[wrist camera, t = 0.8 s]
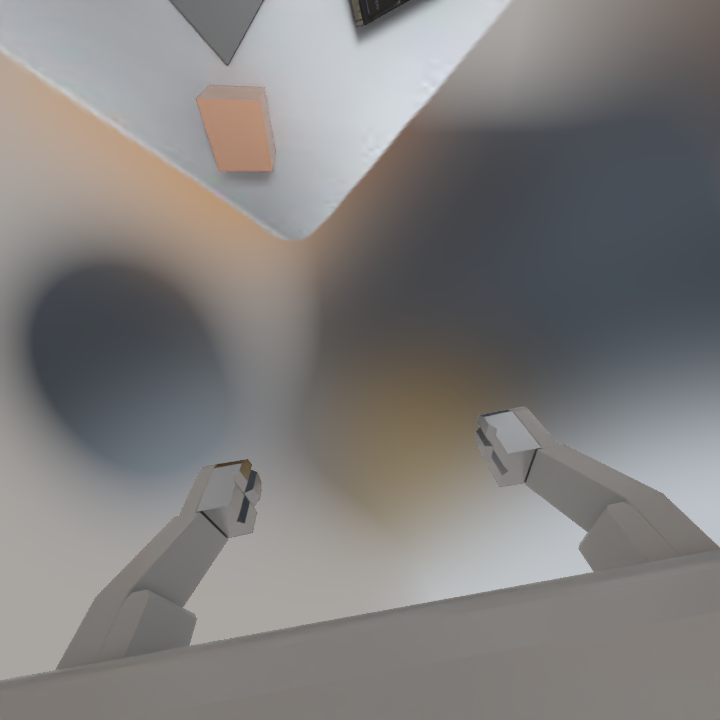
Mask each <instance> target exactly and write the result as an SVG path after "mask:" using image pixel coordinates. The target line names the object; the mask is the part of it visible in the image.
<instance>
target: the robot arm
mask: <svg viewBox="0 0 720 720" xmlns="http://www.w3.org/2000/svg"><path fill="white" fill-rule="evenodd" d="M477 423H478V425H479V426H480V427H479V429H478V430H477V431H476V442H477V446H478V448H479V451H480V453H481V455H482V457H483V458H485V459H486V460H488V461H489V462H490V468H489V469H490V471H491V473H492V474H493V477H494V478H495V480H496V482H497V484H498V485H499V487H503V486H510V485H517V484H523V483H526V485H527V486H528V487H529V488H530V489H532V490H533V491H534V492H536V493H537V494H538V495H540V496H541V497H543V498H544V499H545V500H547V501H548V502H549V503H550V504H551V505H553V506H554V507H556V508H557V509H558V510H559V511H561V512H562V513H563V514H565V515H566V516H567V517H569V518H570V519H571V520H572V521H574V522H575V523H576V524H578V525H579V526H580V527H582V528H583V529H584V530H586V531H587V532H588V533H587V534H586V536H585V537H584V539H583V540H582V541H581V543H580V545H579V550H580V552H581V553H582V555H583V556H584V558H585V559H586V561H587V562H588V564H589V565H590V567H591V568H592V570H593V571H594V572H593V573H586V574H581V575H575V576H570V577H565V578H559V579H554V580H548V581H542V582H537V583H531V584H526V585H520V586H515V587H509V588H504V589H499V590H493V591H488V592H482V593H477V594H471V595H466V596H461V597H455V598H449V599H444V600H438V601H433V602H428V603H422V604H416V605H411V606H406V607H401V608H394V609H389V610H383V611H378V612H372V613H367V614H361V615H356V616H350V617H345V618H339V619H334V620H329V621H323V622H317V623H312V624H306V625H301V626H296V627H290V628H285V629H279V630H274V631H268V632H263V633H258V634H252V635H246V636H241V637H235V638H230V639H224V640H219V641H213V642H208V643H203V644H197V645H191V646H189V645H190V642H191V638H192V634H193V631H194V627H195V624H196V620H197V618H196V616H195V614H193V613H191V612H190V611H188V610H186V609H184V608H183V606H184V605H185V604H186V602H187V601H188V599H189V598H190V596H191V595H192V593H193V592H194V590H195V589H196V587H197V586H198V584H199V583H200V581H201V580H202V578H203V577H204V575H205V574H206V572H207V571H208V569H209V568H210V566H211V565H212V563H213V562H214V560H215V559H216V557H217V556H218V554H219V553H220V551H221V550H222V548H223V547H224V545H225V544H226V542H227V541H228V539H227V538H232V537H236V536H241V535H246V534H250V533H253V530H254V524H255V520H256V515H257V511H256V509H255V507H254V506H255V505H256V503H257V502H258V501H259V500H260V496H261V491H262V490H261V479H260V476H259V474H258V473H257V472H256V471H253V470H251V467H252V464H251V463H250V461H249V460H248V459H246V460H240V461H234V462H227V463H221V464H215V465H210V466H205V467H202V468H201V469H200V470H199V472H198V474H197V476H196V478H195V481H194V483H193V485H192V488H191V490H190V492H189V494H188V496H187V499H186V501H185V503H184V506H183V508H182V510H181V512H180V515H179V516H176V517H174V518H173V519H172V520H171V521H170V522H169V523H168V524H167V525H166V526H165V527H164V528H163V529H162V530H161V531H160V532H159V533H158V534H157V535H156V536H155V537H154V538H153V539H152V540H151V541H150V542H149V543H148V544H147V545H146V546H145V547H144V548H143V549H142V550H141V551H140V552H139V554H138V555H137V556H136V557H135V558H134V559H133V560H132V561H131V562H130V563H129V564H128V565H127V566H126V567H125V568H124V569H123V570H122V571H121V572H120V573H119V574H118V575H117V576H116V577H115V578H114V579H113V580H112V581H111V582H110V583H109V584H108V585H107V586H106V587H105V588H104V589H103V590H102V591H101V592H100V593H99V594H98V595H97V596H96V597H95V599H94V601H93V603H92V605H91V606H90V608H89V610H88V612H87V613H86V616H85V617H84V619H83V621H82V623H81V625H80V626H79V628H78V630H77V632H76V634H75V635H74V637H73V639H72V641H71V642H70V644H69V646H68V648H67V650H66V651H65V653H64V655H63V657H62V659H61V660H60V662H59V664H58V666H57V668H56V670H54V671H49V672H43V673H38V674H32V675H27V676H21V677H16V678H10V679H5V680H0V720H720V547H719V546H718V545H717V544H716V543H715V542H713V541H712V540H711V539H710V538H709V537H708V536H707V535H706V534H705V533H704V532H703V531H702V530H700V528H699V527H698V526H697V525H695V524H694V523H693V522H692V521H691V520H690V519H689V518H688V517H687V516H686V515H685V514H684V513H683V512H682V511H681V510H680V509H679V508H678V507H676V506H675V505H674V504H673V503H672V502H671V501H670V500H669V499H668V498H667V497H666V496H665V495H664V494H663V493H661V492H658V491H657V490H655V489H653V488H651V487H649V486H647V485H645V484H642V483H641V482H639V481H637V480H635V479H633V478H631V477H628V476H627V475H625V474H623V473H621V472H619V471H617V470H615V469H613V468H611V467H609V466H607V465H605V464H602V463H601V462H599V461H596V460H595V459H593V458H591V457H589V456H587V455H584V454H582V453H581V452H578V451H577V450H574V449H572V448H570V447H569V446H567V445H565V444H563V445H559V444H558V443H557V442H556V441H555V439H554V438H553V437H552V436H551V435H550V434H549V433H548V432H547V430H546V429H545V428H544V427H543V426H542V425H541V423H540V422H539V421H538V420H537V419H536V418H535V417H534V416H533V414H532V413H531V412H530V411H529V410H528V409H527V408H525V407H519V408H514V409H509V410H502V411H497V412H492V413H487V414H482V415H480V416H479V417H478V421H477Z"/></svg>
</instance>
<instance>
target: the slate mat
mask: <svg viewBox="0 0 720 720" xmlns="http://www.w3.org/2000/svg"><path fill="white" fill-rule="evenodd" d="M171 1H172V2H173V3H174V4H175V6H176V7H177V8H178V9H179V10H180V11H181V12H182V14H183V15H184V16H185V17H186V18H187V19H188V20H189V22H190V23H191V24H192V25H193V26H194V27H195V28H196V30H197V31H198V32H199V33H200V34H201V35H202V37H203V38H204V39H205V40H206V41H207V42H208V43H209V45H210V46H211V47H212V48H213V49H214V50H215V51H216V53H217V54H218V55H219V56H220V57H221V58H222V59H223V61H224V62H225V63H226V64H227V65H228V63H229V62H230V60H231V58H232V56H233V54H234V52H235V51H236V49H237V47H238V45H239V43H240V42H241V40H242V38H243V36H244V34H245V32H246V31H247V29H248V27H249V25H250V23H251V21H252V20H253V18H254V16H255V14H256V12H257V11H258V9H259V7H260V5H261V3H262V1H263V0H171Z"/></svg>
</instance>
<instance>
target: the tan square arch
mask: <svg viewBox="0 0 720 720" xmlns="http://www.w3.org/2000/svg"><path fill="white" fill-rule="evenodd" d="M196 101H197V104H198V107H199V111H200V114H201V117H202V120H203V123H204V126H205V129H206V133H207V136H208V139H209V142H210V145H211V148H212V151H213V154H214V158H215V161H216V164H217V167H218V170H219V171H273V168H274V161H275V153H276V150H275V144H274V138H273V132H272V126H271V120H270V114H269V108H268V102H267V96H266V90H265V87H242V86H215V85H209V86H208V87H207V88H206V89H205V90H204V91H203V92H202V93H201V94H200V95H199V96H198V97H197V98H196Z"/></svg>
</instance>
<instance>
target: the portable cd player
mask: <svg viewBox="0 0 720 720" xmlns="http://www.w3.org/2000/svg"><path fill="white" fill-rule="evenodd" d="M407 1H409V0H351V3H352V8H353V12H354V16H355V21H356V25H357V27H358V26H363V25H367V24H368V23H370V22H372V21H374V20H375V19H377V18H379V17H381V16H383V15H384V14H386V13H388V12H390V11H391V10H393V9H395V8H397V7H398V6H400V5H402V4H404V3H405V2H407Z"/></svg>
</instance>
